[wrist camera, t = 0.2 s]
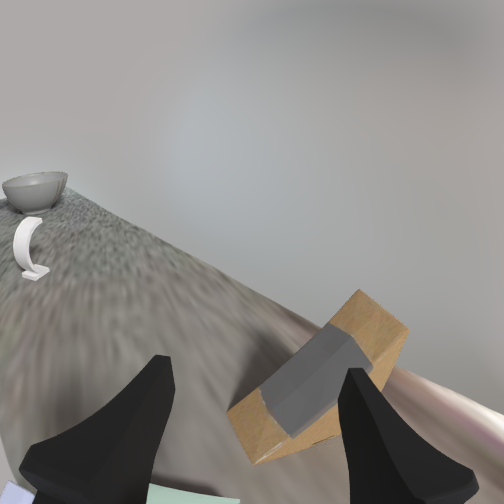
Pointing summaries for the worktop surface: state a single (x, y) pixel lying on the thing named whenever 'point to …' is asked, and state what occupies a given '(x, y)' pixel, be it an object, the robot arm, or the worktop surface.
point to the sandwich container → (317, 381)
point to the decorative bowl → (35, 191)
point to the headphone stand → (27, 249)
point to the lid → (183, 497)
